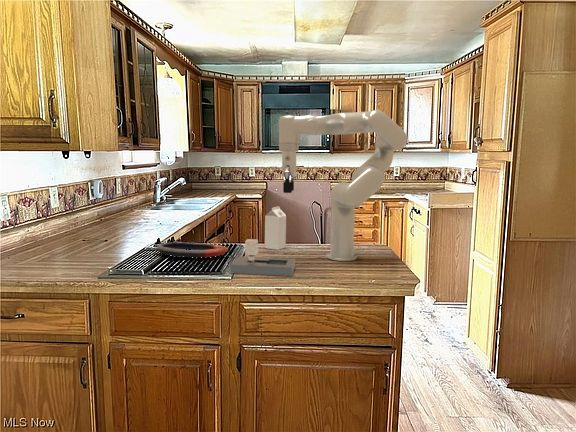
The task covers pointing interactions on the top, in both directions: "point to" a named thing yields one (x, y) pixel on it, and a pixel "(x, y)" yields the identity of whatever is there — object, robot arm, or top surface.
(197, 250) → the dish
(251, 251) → the peg
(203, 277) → the top surface
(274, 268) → the keyhole plate
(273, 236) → the milk carton
